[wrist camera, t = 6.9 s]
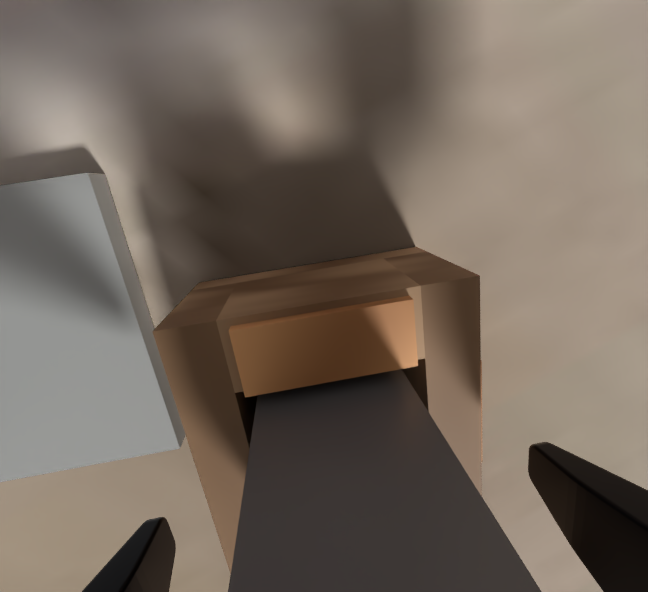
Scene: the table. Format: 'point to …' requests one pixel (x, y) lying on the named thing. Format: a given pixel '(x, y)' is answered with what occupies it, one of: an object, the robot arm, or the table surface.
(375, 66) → the table surface
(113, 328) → the deck
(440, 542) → the plug
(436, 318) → the socket strip
